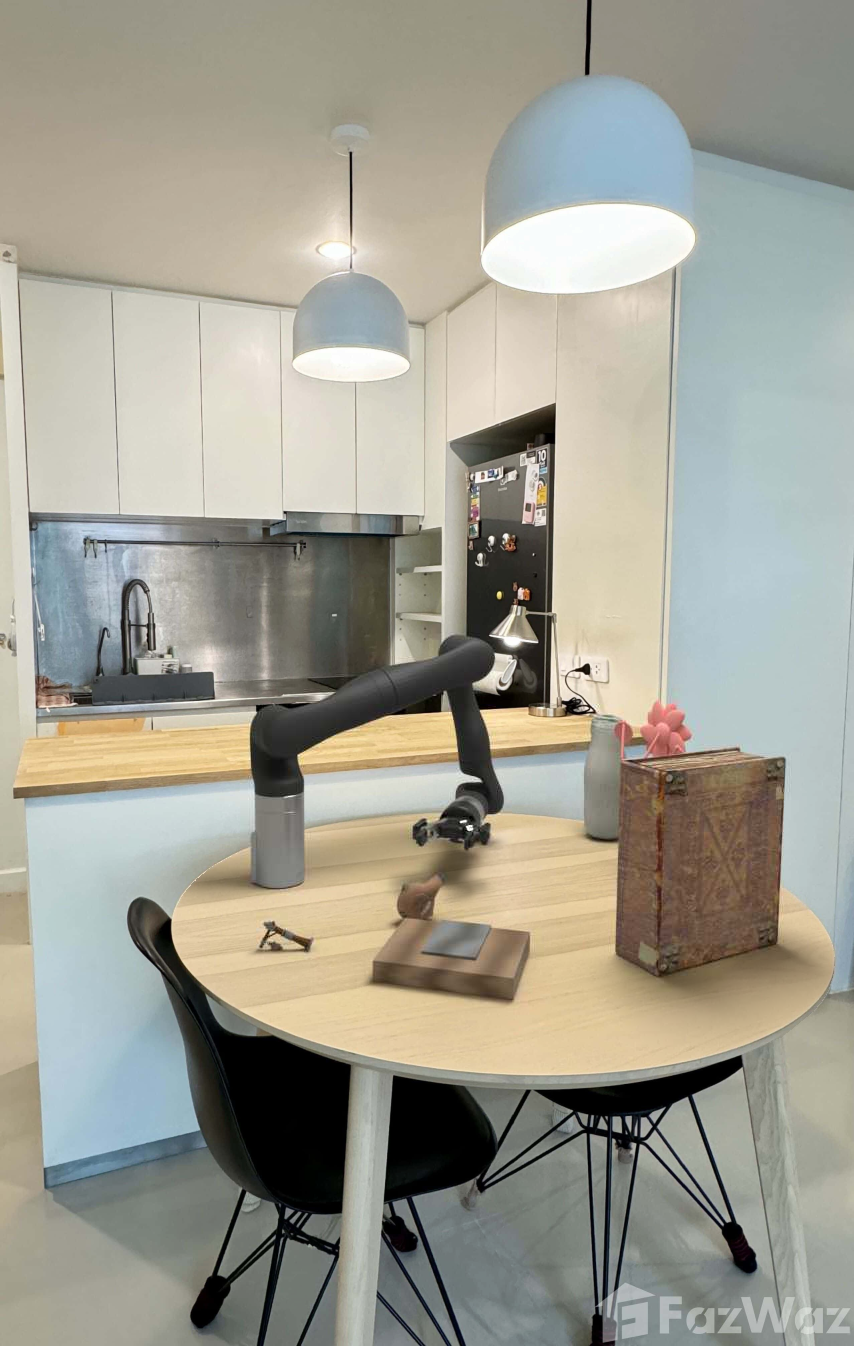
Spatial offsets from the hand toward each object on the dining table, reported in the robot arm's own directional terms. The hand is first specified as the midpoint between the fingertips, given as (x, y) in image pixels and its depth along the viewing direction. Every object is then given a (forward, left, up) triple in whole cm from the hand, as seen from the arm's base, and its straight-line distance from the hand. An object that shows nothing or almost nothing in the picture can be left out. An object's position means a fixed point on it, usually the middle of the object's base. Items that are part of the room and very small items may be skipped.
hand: (443, 843), depth 148 cm
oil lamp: (-1, -11, -10) cm, 15 cm away
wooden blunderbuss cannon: (-17, -28, -10) cm, 35 cm away
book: (+43, -10, -10) cm, 46 cm away
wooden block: (+8, -26, -10) cm, 29 cm away
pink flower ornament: (+38, +19, -10) cm, 44 cm away
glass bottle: (+26, +46, -10) cm, 54 cm away
